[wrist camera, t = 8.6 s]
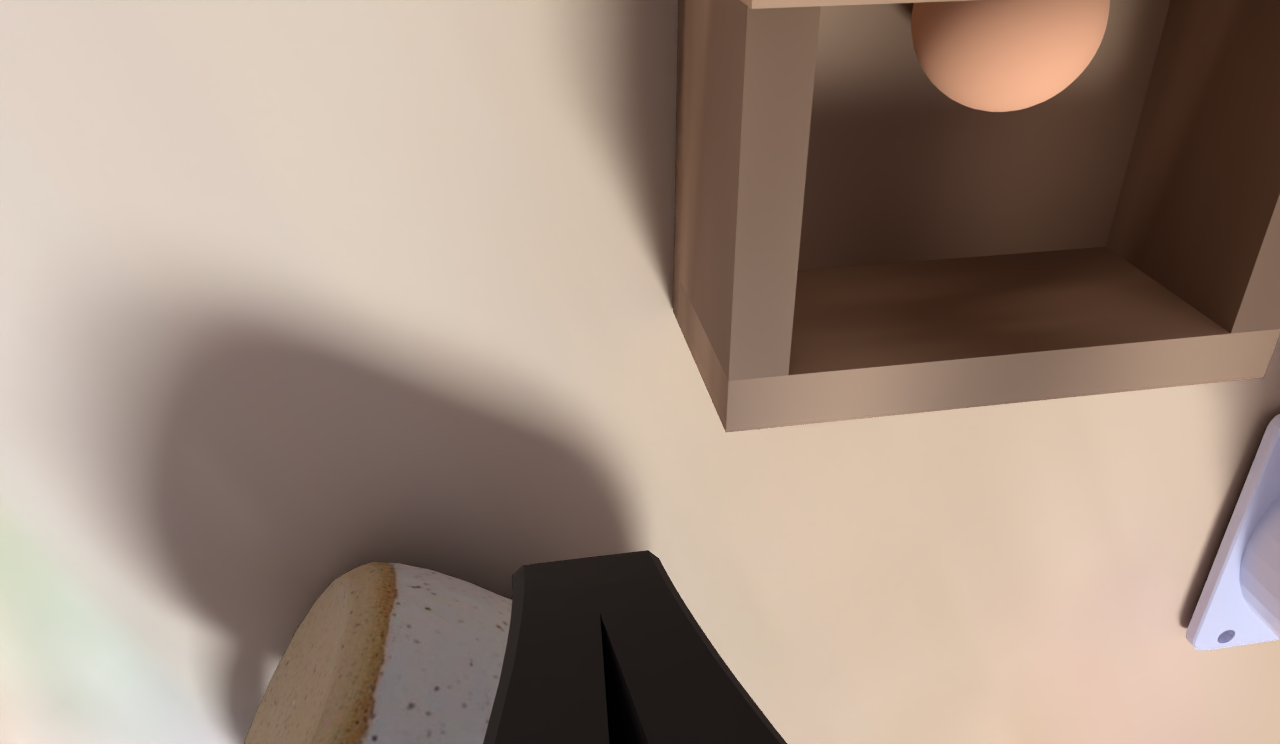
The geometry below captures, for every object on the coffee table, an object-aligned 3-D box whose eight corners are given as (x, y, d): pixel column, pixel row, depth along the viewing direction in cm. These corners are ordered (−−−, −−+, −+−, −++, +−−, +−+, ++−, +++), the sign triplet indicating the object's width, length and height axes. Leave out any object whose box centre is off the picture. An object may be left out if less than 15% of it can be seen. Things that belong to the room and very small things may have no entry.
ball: (1063, -98, 17) (1175, -76, 14) (1028, 81, 18) (1122, 130, 16) (895, -93, 16) (979, -71, 14) (873, 89, 18) (945, 140, 15)
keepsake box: (1271, -273, 16) (1515, -288, 13) (1121, 274, 21) (1263, 377, 18) (682, -275, 15) (762, -294, 11) (672, 311, 20) (726, 432, 16)
